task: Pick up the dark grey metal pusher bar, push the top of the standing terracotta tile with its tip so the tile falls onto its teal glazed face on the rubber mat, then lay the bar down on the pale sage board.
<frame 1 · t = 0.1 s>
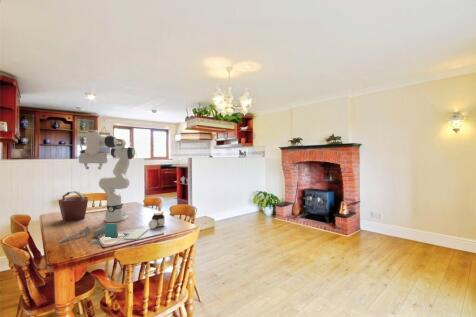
hand: (93, 169, 182), 48 cm above the table, tool pointing down, fingers open, 8 cm apart
caliper: (75, 238, 168), on the table
tool board: (136, 235, 174), on the table
pusher bar: (102, 234, 177), on the table
mat: (110, 239, 166), on the table
bucket: (75, 218, 219), on the table
spread jar: (156, 227, 194), on the table
tile: (111, 237, 168), resting on mat
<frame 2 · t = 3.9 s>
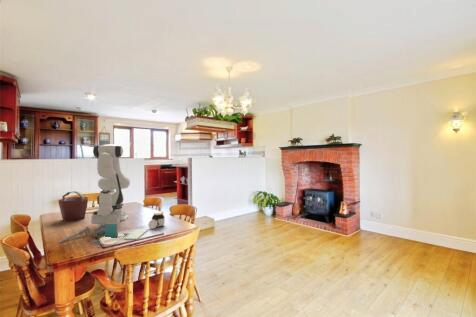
hand: (105, 229, 182), 2 cm above the table, tool pointing down, fingers closed on pusher bar, 3 cm apart
pusher bar: (101, 234, 177), on the table, touching gripper
everything else where it was.
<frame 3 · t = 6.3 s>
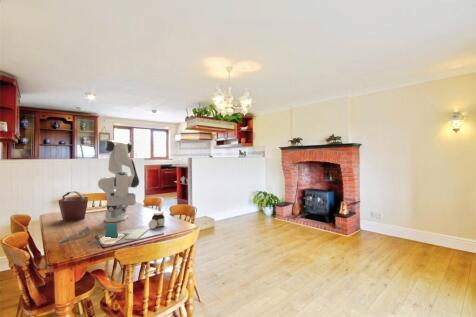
hand: (122, 210, 185), 15 cm above the table, tool pointing down, fingers closed on pusher bar, 3 cm apart
pusher bar: (118, 214, 180), point 14 cm above the table, touching gripper
everything else where it was.
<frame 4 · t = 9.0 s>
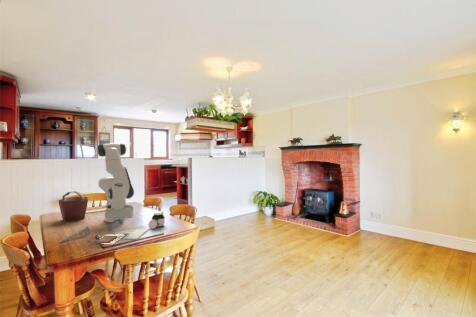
hand: (119, 223, 178), 7 cm above the table, tool pointing down, fingers closed on pusher bar, 3 cm apart
pusher bar: (115, 227, 173), point 6 cm above the table, touching gripper
tile: (111, 237, 167), point 1 cm above the table, tilted 90°, touching mat
everything else where it was.
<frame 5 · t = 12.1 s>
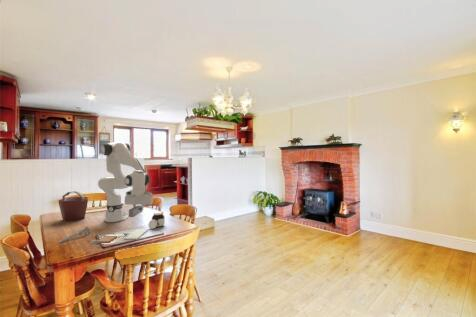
hand: (138, 210, 178), 17 cm above the table, tool pointing down, fingers closed on pusher bar, 3 cm apart
pusher bar: (135, 214, 173), point 16 cm above the table, touching gripper
everything else where it was.
when the fingers open (4 cm above the table, at t = 14.8 s): pusher bar drops 1 cm, resting on tool board.
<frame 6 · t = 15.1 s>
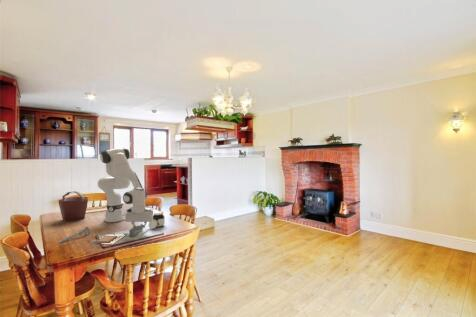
hand: (139, 227, 179), 4 cm above the table, tool pointing down, fingers open, 6 cm apart
pusher bar: (136, 233, 174), point 1 cm above the table, touching tool board
everything else where it was.
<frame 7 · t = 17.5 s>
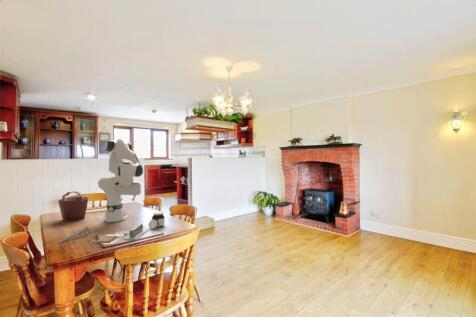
hand: (127, 200, 181), 24 cm above the table, tool pointing down, fingers open, 8 cm apart
nothing on the table moved.
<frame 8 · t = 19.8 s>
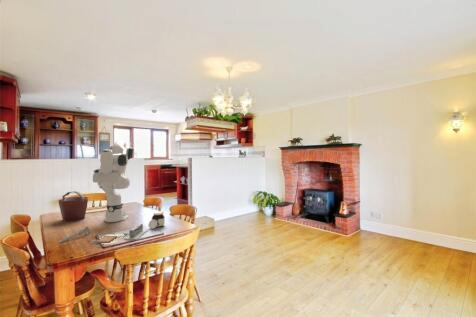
hand: (107, 188, 183), 33 cm above the table, tool pointing down, fingers open, 8 cm apart
nothing on the table moved.
at the end: tile inside the target area (3.0 cm from its centre), point 1.1 cm above the table; tile tilted 90°; pusher bar inside the target area (0.5 cm from its centre), point 1.2 cm above the table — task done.
